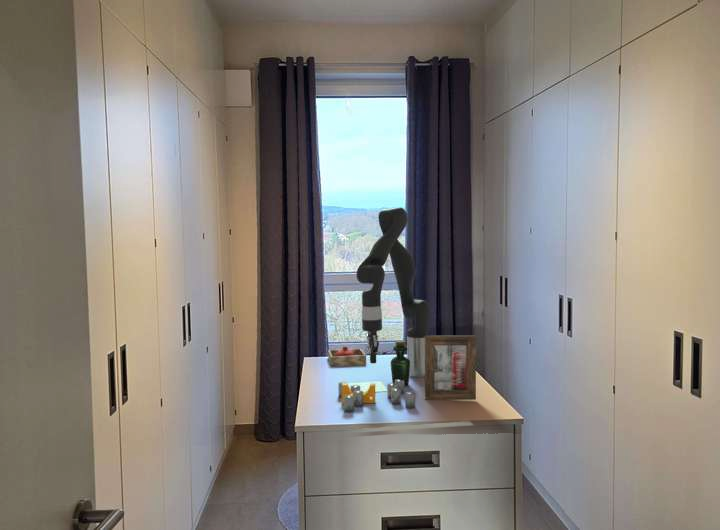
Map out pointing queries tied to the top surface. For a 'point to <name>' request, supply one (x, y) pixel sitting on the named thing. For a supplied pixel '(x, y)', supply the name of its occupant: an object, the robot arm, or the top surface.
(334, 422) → the top surface
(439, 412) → the top surface
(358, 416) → the top surface
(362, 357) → the frame
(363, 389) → the pad
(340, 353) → the butter dish
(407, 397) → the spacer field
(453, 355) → the picture frame
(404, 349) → the potion bottle
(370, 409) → the top surface
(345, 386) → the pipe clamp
